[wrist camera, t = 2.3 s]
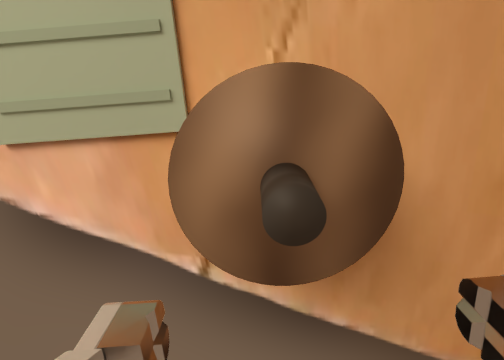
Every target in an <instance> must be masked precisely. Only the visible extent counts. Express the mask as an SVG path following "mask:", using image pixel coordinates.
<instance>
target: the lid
mask: <svg viewBox="0 0 504 360" xmlns="http://www.w3.org/2000/svg"><path fill="white" fill-rule="evenodd" d="M403 181H404V160H403V153H402V147H401V144H400V140H399V137H398V134H397V131H396V129H395V127H394V125H393V123H392V120H391V119H390V117H389V116H388V114H387V113H386V111H385V109H384V108H383V107H382V105H381V104H380V103H379V102H378V101H377V100H376V99H375V97H374V96H373V95H372V94H371V93H369V92H368V91H367V90H366V89H365V88H364V87H362V86H361V85H360V84H358V83H357V82H355V81H354V80H352V79H350V78H349V77H347V76H345V75H343V74H341V73H338V72H336V71H334V70H332V69H328V68H325V67H321V66H318V65H314V64H306V63H299V62H282V63H274V64H267V65H262V66H258V67H255V68H251V69H248V70H245V71H243V72H241V73H238V74H236V75H234V76H232V77H230V78H228V79H227V80H225V81H223V82H222V83H220V84H219V85H217V86H216V87H214V88H213V89H212V90H211V91H210V92H209V93H207V94H206V95H205V96H204V97H203V98H202V99H201V100H200V101H199V102H198V103H197V104H196V105H195V107H194V108H193V109H192V110H191V112H190V113H189V115H188V116H187V118H186V119H185V120H184V122H183V124H182V126H181V128H180V130H179V132H178V134H177V136H176V139H175V142H174V145H173V148H172V151H171V156H170V162H169V171H168V185H169V195H170V199H171V203H172V208H173V211H174V213H175V216H176V218H177V221H178V223H179V225H180V227H181V229H182V230H183V232H184V234H185V235H186V237H187V238H188V239H189V241H190V242H191V244H192V245H193V246H194V247H195V248H196V249H197V250H198V251H199V252H200V253H201V254H202V255H203V256H204V257H205V258H206V259H207V260H209V261H210V262H211V263H212V264H214V265H215V266H217V267H219V268H220V269H222V270H223V271H225V272H227V273H229V274H231V275H233V276H236V277H238V278H241V279H244V280H247V281H250V282H255V283H259V284H265V285H274V286H291V285H299V284H306V283H310V282H314V281H318V280H321V279H324V278H327V277H330V276H332V275H334V274H336V273H338V272H340V271H342V270H344V269H346V268H347V267H349V266H350V265H352V264H354V263H355V262H356V261H358V260H359V259H360V258H361V257H363V256H364V255H365V254H366V253H367V252H368V251H369V250H370V249H371V248H372V247H373V246H374V245H375V244H376V243H377V242H378V240H379V239H380V238H381V237H382V235H383V234H384V233H385V231H386V229H387V228H388V226H389V224H390V223H391V221H392V219H393V217H394V214H395V212H396V210H397V208H398V204H399V201H400V197H401V194H402V188H403Z"/></svg>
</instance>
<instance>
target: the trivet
mask: <svg viewBox="0 0 504 360" xmlns="http://www.w3.org/2000/svg"><path fill="white" fill-rule="evenodd" d="M187 116H188V113H187V106H186V99H185V92H184V84H183V77H182V70H181V62H180V55H179V48H178V40H177V33H176V26H175V18H174V11H173V4H172V0H0V145H5V144H18V143H32V142H45V141H59V140H72V139H86V138H99V137H113V136H126V135H140V134H153V133H167V132H179V130H180V128H181V126H182V124H183V122H184V120H185V119H186V118H187Z"/></svg>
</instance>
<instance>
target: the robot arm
mask: <svg viewBox="0 0 504 360" xmlns="http://www.w3.org/2000/svg"><path fill="white" fill-rule="evenodd" d="M458 292H459V293H460V295H461V296H462V297H463V299H462V300H461V301H460V302H459V303H458V304H457V305H456V314H455V317H456V321H457V325H458V328H459V330H460V332H461V333H462V335H463V336H464V338H465V339H466V340H467V341H468V343H470V344H472V345H473V346H475V347H477V348H479V349H481V358H482V359H483V360H504V275H501V276H492V277H479V278H466V279H462V281H461V282H460V285H459V291H458ZM164 314H165V310H164V306H163V302H162V301H160V300H154V301H133V302H119V303H106V304H104V305H103V306H102V307H101V308H100V310H99V311H98V313H97V315H96V316H95V317H94V319H93V321H92V322H91V324H90V325H89V327H88V329H87V330H86V332H85V333H84V335H83V336H82V338H81V339H80V341H79V342H78V344H77V345H76V347H75V349H74V350H73V351H66V352H65V353H64V354H62V355H61V356H59V357H58V358H56V359H55V360H167V357H168V352H169V330H168V326H167V325H166V324H164V322H163V321H162V320H163V317H164Z"/></svg>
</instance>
